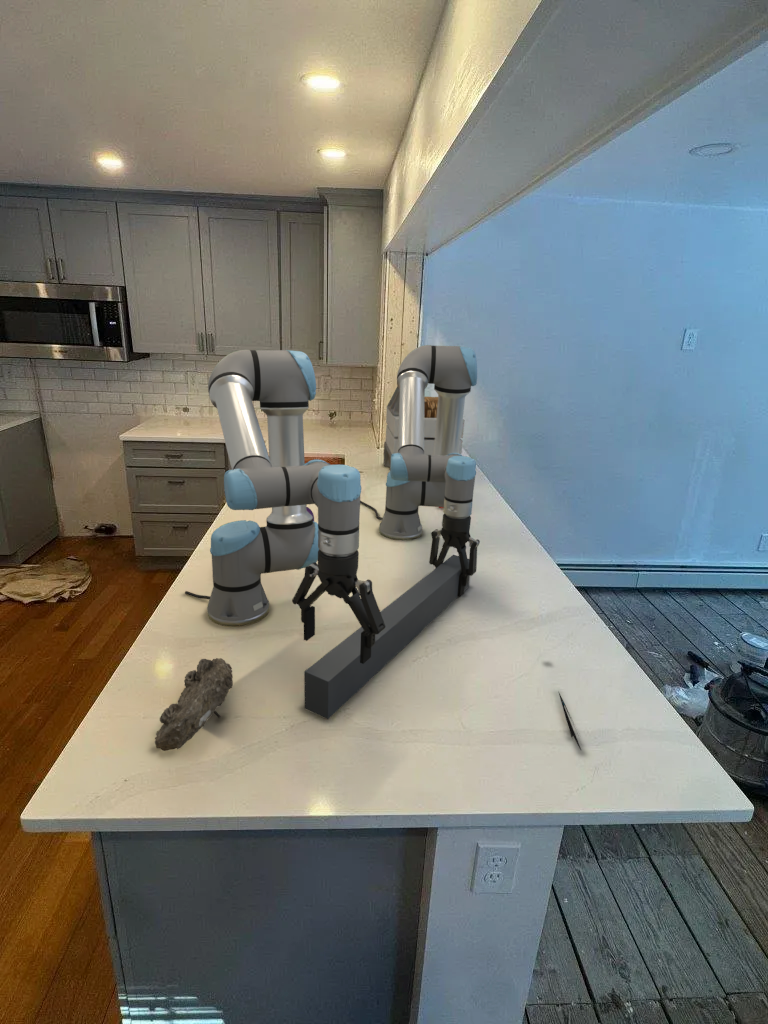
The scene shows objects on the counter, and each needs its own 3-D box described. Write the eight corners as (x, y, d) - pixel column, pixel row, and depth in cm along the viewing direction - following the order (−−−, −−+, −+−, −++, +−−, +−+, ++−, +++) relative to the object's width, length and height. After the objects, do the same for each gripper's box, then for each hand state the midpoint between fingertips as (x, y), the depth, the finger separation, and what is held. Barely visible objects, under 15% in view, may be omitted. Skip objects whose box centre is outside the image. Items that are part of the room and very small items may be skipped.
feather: (547, 667, 130) (553, 661, 129) (581, 755, 103) (588, 747, 102) (541, 664, 129) (547, 657, 129) (573, 750, 103) (580, 743, 102)
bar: (450, 581, 166) (453, 554, 164) (468, 586, 164) (471, 559, 161) (304, 708, 111) (304, 671, 109) (327, 719, 109) (328, 681, 106)
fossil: (182, 659, 118) (233, 627, 113) (214, 689, 120) (265, 659, 115) (130, 744, 98) (189, 710, 93) (170, 778, 101) (229, 746, 96)
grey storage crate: (382, 463, 289) (386, 382, 275) (445, 464, 293) (451, 384, 279) (390, 482, 257) (394, 392, 243) (460, 483, 261) (468, 394, 247)
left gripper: (273, 539, 107) (275, 636, 115) (385, 574, 95) (380, 680, 103) (298, 528, 113) (299, 620, 121) (407, 559, 102) (400, 660, 109)
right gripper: (419, 510, 153) (414, 587, 161) (484, 526, 144) (476, 606, 152) (432, 503, 159) (426, 578, 167) (495, 518, 150) (486, 595, 158)
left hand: (336, 648), depth 112 cm, fingers open, 13 cm apart
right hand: (450, 591), depth 160 cm, fingers closed on bar, 6 cm apart
